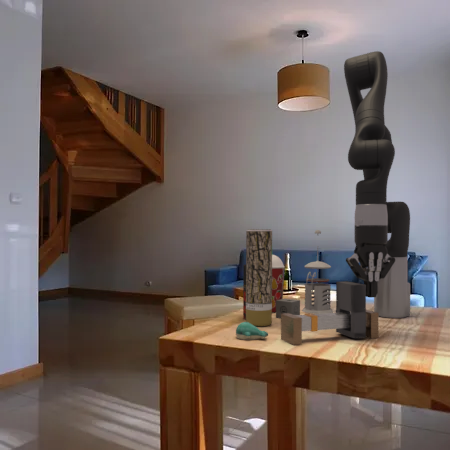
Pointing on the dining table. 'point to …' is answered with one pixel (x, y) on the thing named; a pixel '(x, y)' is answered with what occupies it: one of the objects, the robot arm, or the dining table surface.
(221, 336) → the dining table surface
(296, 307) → the grey cube
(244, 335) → the whale figurine
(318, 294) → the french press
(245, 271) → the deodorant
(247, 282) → the paper tube
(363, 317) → the collar
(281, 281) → the smoothie
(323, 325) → the grey bar with endplates
